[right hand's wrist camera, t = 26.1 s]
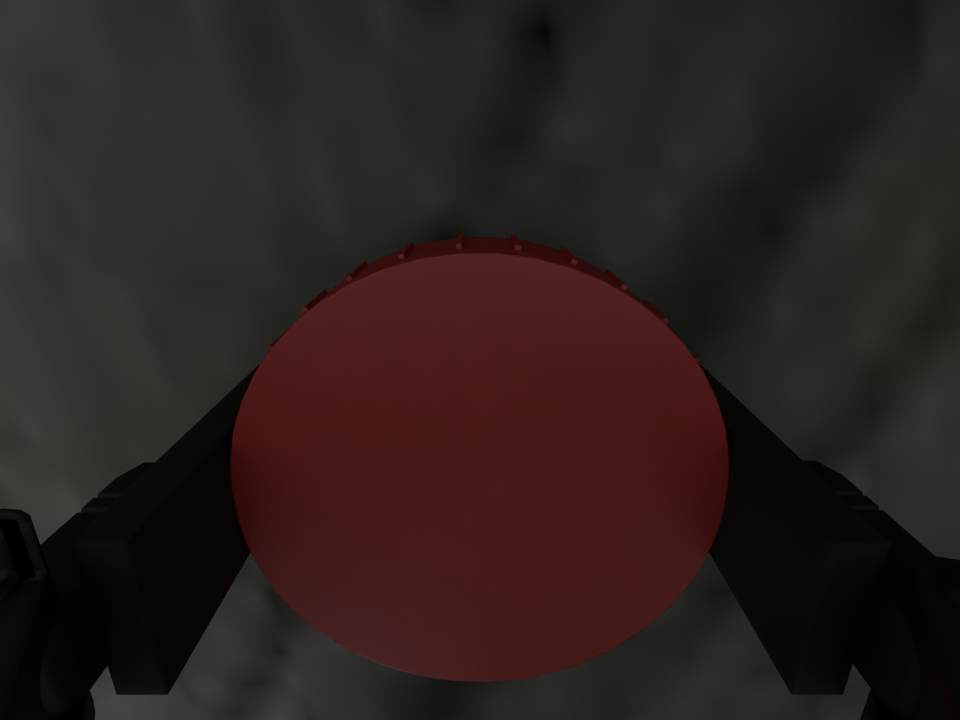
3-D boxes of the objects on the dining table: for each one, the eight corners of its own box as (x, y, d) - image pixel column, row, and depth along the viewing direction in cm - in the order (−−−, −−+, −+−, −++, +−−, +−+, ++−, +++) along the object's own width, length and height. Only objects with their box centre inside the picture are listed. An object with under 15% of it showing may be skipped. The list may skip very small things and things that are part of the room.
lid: (170, 400, 12) (115, 443, 10) (550, 127, 10) (566, 121, 8) (431, 671, 14) (424, 743, 12) (767, 498, 12) (815, 555, 11)
